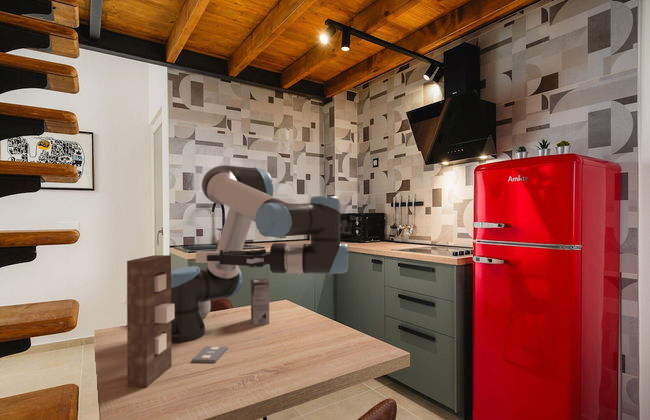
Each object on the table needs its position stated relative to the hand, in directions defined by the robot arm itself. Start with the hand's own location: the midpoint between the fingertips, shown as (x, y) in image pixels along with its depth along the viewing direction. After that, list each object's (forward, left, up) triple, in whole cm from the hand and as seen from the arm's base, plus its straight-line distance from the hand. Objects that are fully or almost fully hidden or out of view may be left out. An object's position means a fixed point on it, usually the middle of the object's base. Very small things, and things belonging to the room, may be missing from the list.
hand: (196, 257), depth 91 cm
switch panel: (+8, -11, -31) cm, 34 cm away
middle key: (+5, -8, -17) cm, 19 cm away
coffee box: (-40, -29, -32) cm, 59 cm away
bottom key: (+7, -10, -25) cm, 28 cm away
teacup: (-27, -54, -32) cm, 68 cm away
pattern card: (-10, -12, -31) cm, 35 cm away
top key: (+7, -10, -9) cm, 15 cm away
